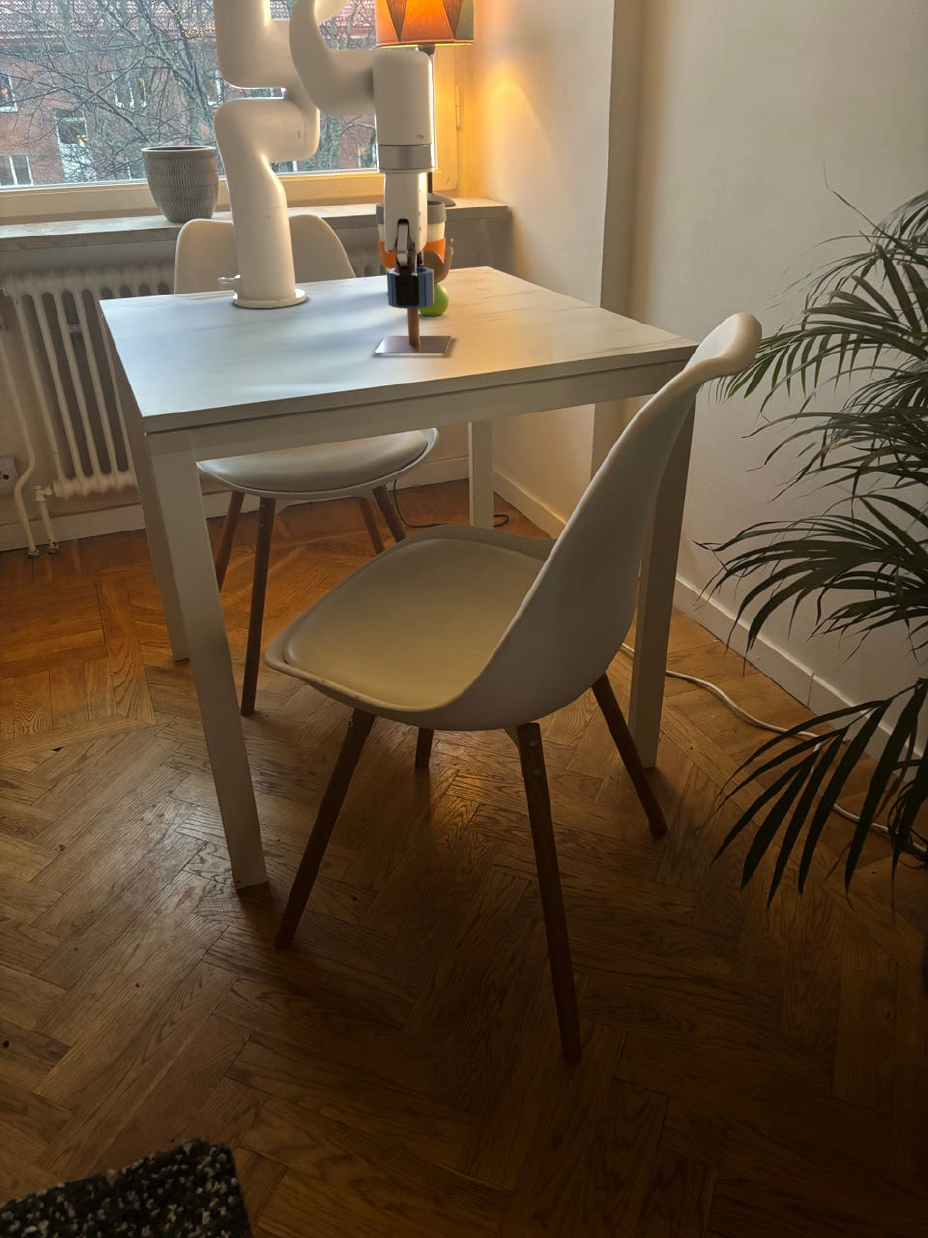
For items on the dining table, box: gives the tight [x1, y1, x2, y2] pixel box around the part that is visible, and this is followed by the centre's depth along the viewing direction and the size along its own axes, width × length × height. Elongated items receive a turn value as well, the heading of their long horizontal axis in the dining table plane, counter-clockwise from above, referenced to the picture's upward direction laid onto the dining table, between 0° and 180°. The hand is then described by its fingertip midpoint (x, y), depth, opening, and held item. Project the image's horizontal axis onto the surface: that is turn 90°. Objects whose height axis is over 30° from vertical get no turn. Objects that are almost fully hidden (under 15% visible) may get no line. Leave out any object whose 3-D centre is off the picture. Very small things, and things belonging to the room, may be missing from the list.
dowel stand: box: [374, 308, 453, 354], centre depth 134 cm, size 10×10×7 cm
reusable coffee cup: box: [375, 199, 448, 284], centre depth 167 cm, size 13×13×15 cm
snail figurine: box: [418, 238, 454, 317], centre depth 150 cm, size 5×6×12 cm
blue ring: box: [386, 266, 434, 310], centre depth 132 cm, size 6×6×4 cm
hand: (411, 298), depth 132 cm, fingers closed on blue ring, 6 cm apart
